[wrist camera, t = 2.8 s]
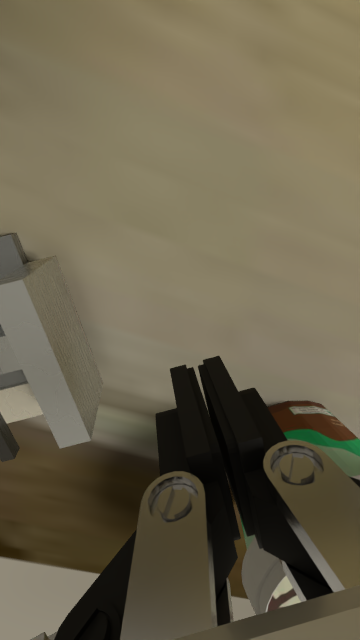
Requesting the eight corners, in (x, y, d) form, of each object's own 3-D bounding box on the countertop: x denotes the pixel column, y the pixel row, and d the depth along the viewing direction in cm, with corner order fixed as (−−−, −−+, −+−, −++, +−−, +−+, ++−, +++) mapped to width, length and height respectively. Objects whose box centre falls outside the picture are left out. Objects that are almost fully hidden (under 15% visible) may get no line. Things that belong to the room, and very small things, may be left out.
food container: (260, 361, 22) (344, 482, 13) (332, 387, 24) (453, 513, 14) (186, 489, 26) (211, 655, 17) (252, 505, 27) (308, 666, 18)
